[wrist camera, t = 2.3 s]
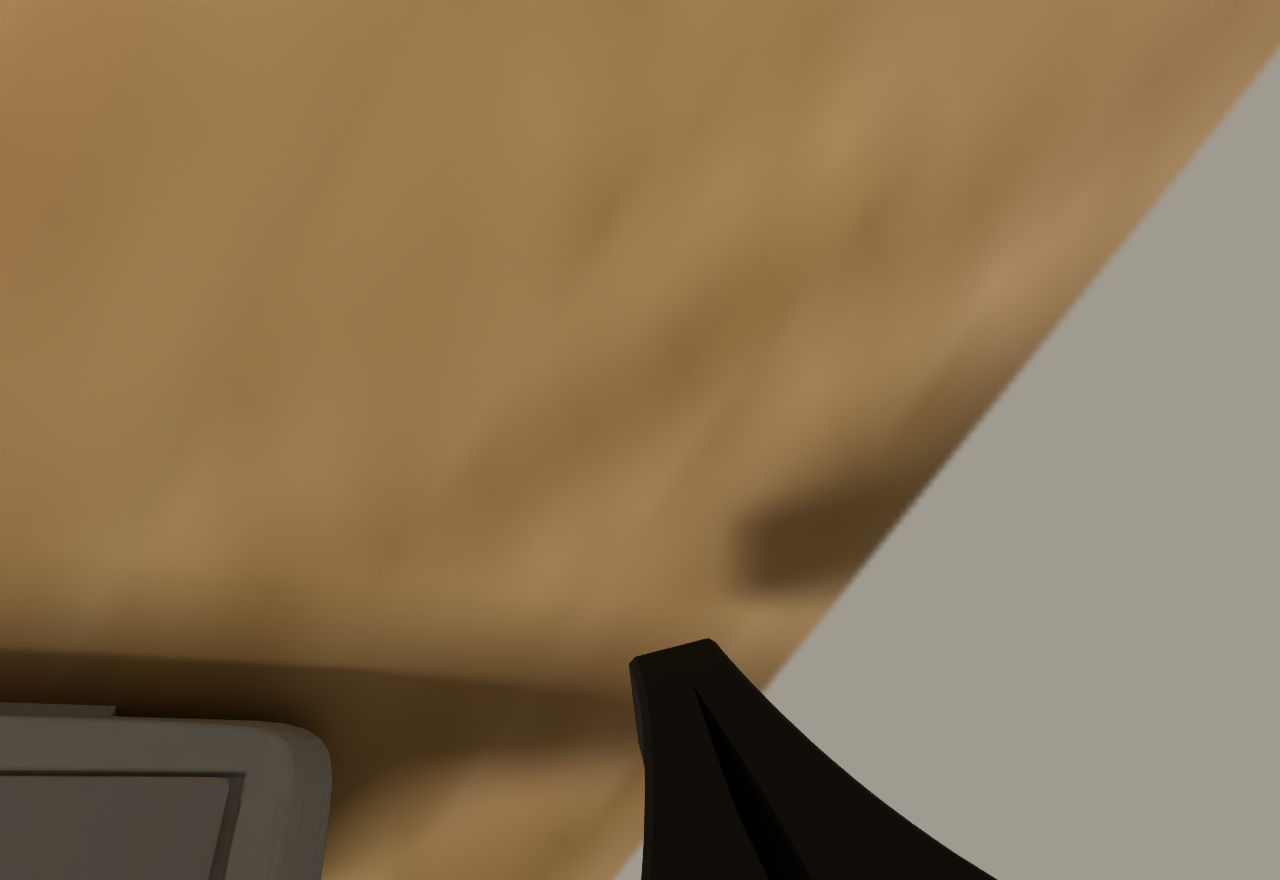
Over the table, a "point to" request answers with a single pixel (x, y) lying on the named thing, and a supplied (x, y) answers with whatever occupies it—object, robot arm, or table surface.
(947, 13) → the table surface
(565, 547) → the table surface
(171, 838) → the digital clock
